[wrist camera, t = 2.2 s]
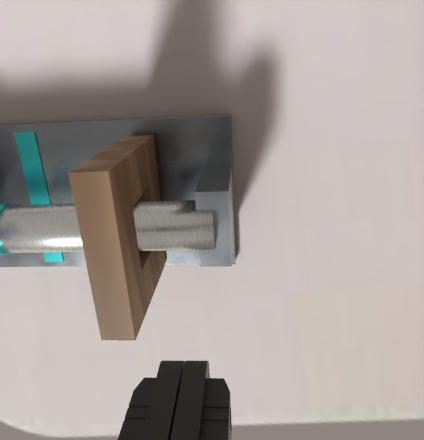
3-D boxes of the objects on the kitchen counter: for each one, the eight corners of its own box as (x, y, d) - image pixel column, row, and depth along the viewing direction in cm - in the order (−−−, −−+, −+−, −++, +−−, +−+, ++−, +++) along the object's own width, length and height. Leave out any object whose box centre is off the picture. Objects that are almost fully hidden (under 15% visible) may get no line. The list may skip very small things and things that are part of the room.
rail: (230, 114, 28) (225, 133, 21) (235, 259, 33) (233, 319, 25) (-51, 127, 30) (-150, 149, 23) (-10, 262, 35) (-80, 318, 27)
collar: (153, 134, 28) (108, 171, 18) (167, 258, 31) (135, 340, 22) (126, 135, 28) (68, 172, 19) (143, 258, 32) (101, 339, 22)
